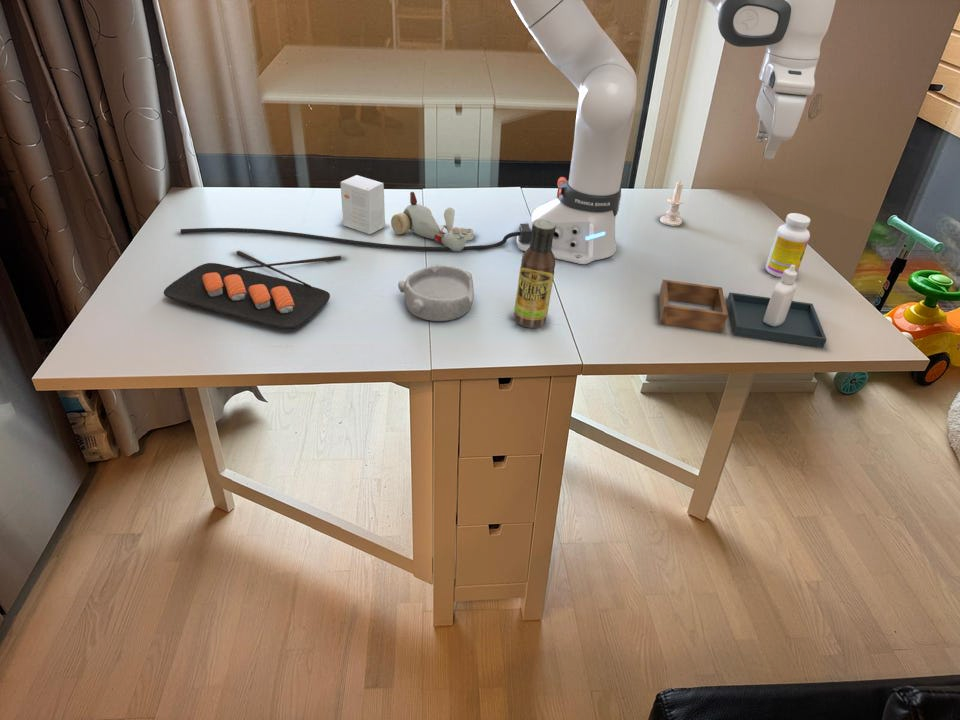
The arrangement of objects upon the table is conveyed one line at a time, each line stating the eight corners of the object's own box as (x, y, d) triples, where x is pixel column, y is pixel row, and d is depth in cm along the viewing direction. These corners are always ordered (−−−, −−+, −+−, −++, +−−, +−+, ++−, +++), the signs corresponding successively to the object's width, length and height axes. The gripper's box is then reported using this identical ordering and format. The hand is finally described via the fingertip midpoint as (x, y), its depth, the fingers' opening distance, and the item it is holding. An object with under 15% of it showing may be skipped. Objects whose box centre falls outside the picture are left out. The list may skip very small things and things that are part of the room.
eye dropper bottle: (792, 325, 138) (813, 269, 131) (768, 328, 137) (787, 272, 130) (779, 313, 141) (798, 258, 135) (754, 316, 140) (773, 261, 133)
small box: (385, 227, 164) (384, 183, 158) (369, 235, 160) (368, 190, 154) (358, 217, 167) (356, 174, 161) (342, 225, 163) (339, 181, 157)
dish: (467, 284, 144) (469, 262, 142) (482, 321, 134) (484, 298, 131) (395, 288, 141) (395, 266, 139) (405, 326, 130) (405, 303, 128)
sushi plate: (157, 302, 132) (153, 284, 130) (253, 237, 156) (251, 221, 153) (295, 339, 125) (293, 321, 123) (374, 266, 148) (373, 249, 146)
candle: (681, 218, 178) (691, 178, 172) (681, 227, 174) (691, 186, 167) (660, 215, 178) (669, 175, 172) (660, 224, 174) (669, 183, 168)
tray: (733, 335, 135) (736, 326, 134) (726, 300, 145) (729, 292, 144) (823, 348, 133) (826, 339, 132) (809, 312, 144) (812, 303, 142)
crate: (660, 323, 137) (664, 305, 134) (658, 296, 145) (662, 279, 143) (722, 332, 135) (727, 314, 133) (717, 304, 144) (722, 287, 141)
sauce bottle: (510, 326, 133) (519, 227, 121) (517, 309, 138) (527, 212, 126) (543, 332, 132) (557, 233, 120) (550, 316, 137) (563, 218, 125)
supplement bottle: (798, 281, 154) (818, 226, 147) (766, 276, 155) (784, 221, 148) (793, 267, 159) (812, 213, 152) (763, 263, 160) (780, 209, 153)
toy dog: (459, 257, 154) (461, 218, 149) (381, 239, 159) (380, 201, 153) (479, 235, 163) (482, 198, 158) (405, 218, 168) (405, 182, 163)
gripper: (760, 56, 135) (740, 130, 142) (777, 84, 118) (754, 165, 126) (795, 60, 134) (773, 134, 142) (817, 88, 117) (791, 170, 125)
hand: (764, 149), depth 134 cm, fingers open, 8 cm apart
